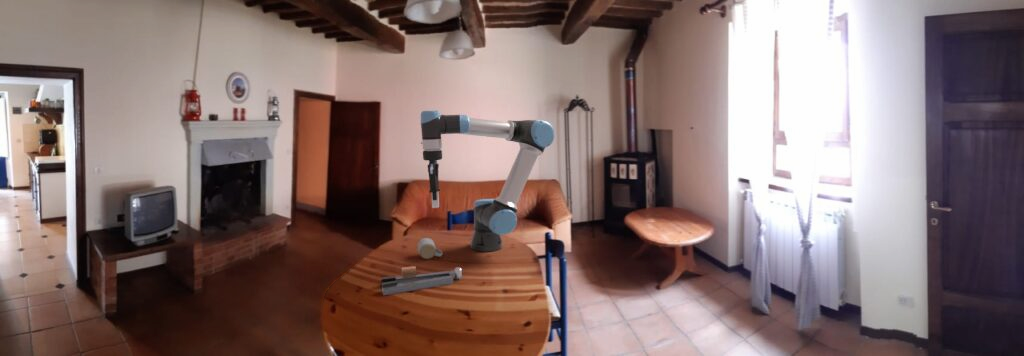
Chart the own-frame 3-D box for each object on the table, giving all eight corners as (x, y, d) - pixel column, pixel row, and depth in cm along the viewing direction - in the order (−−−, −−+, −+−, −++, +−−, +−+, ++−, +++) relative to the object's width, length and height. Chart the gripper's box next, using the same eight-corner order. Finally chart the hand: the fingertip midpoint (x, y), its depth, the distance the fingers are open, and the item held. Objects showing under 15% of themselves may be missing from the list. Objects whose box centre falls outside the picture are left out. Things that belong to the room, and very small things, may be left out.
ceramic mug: (419, 260, 174) (419, 243, 173) (417, 254, 181) (417, 238, 180) (444, 258, 177) (444, 241, 176) (441, 252, 185) (441, 236, 184)
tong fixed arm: (450, 280, 153) (450, 272, 153) (453, 283, 150) (453, 275, 150) (382, 291, 143) (381, 283, 143) (383, 295, 140) (383, 286, 139)
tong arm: (459, 273, 159) (459, 261, 158) (462, 278, 154) (462, 266, 153) (381, 282, 150) (380, 269, 149) (381, 288, 144) (381, 275, 144)
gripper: (425, 148, 167) (428, 204, 171) (420, 151, 154) (423, 211, 158) (443, 148, 167) (446, 203, 171) (439, 151, 154) (443, 210, 158)
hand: (435, 207), depth 165 cm, fingers closed
